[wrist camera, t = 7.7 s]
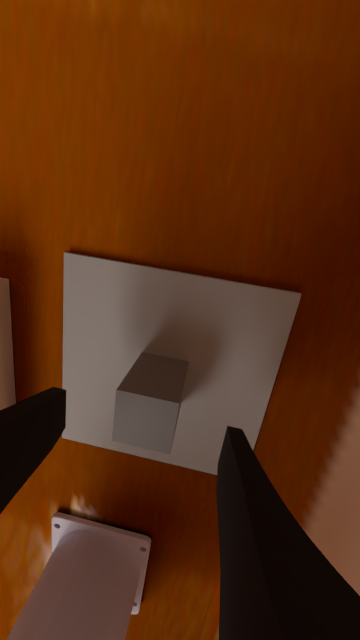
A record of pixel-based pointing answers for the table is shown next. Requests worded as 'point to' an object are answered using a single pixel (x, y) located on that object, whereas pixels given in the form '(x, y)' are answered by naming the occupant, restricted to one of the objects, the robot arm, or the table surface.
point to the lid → (167, 358)
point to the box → (6, 348)
